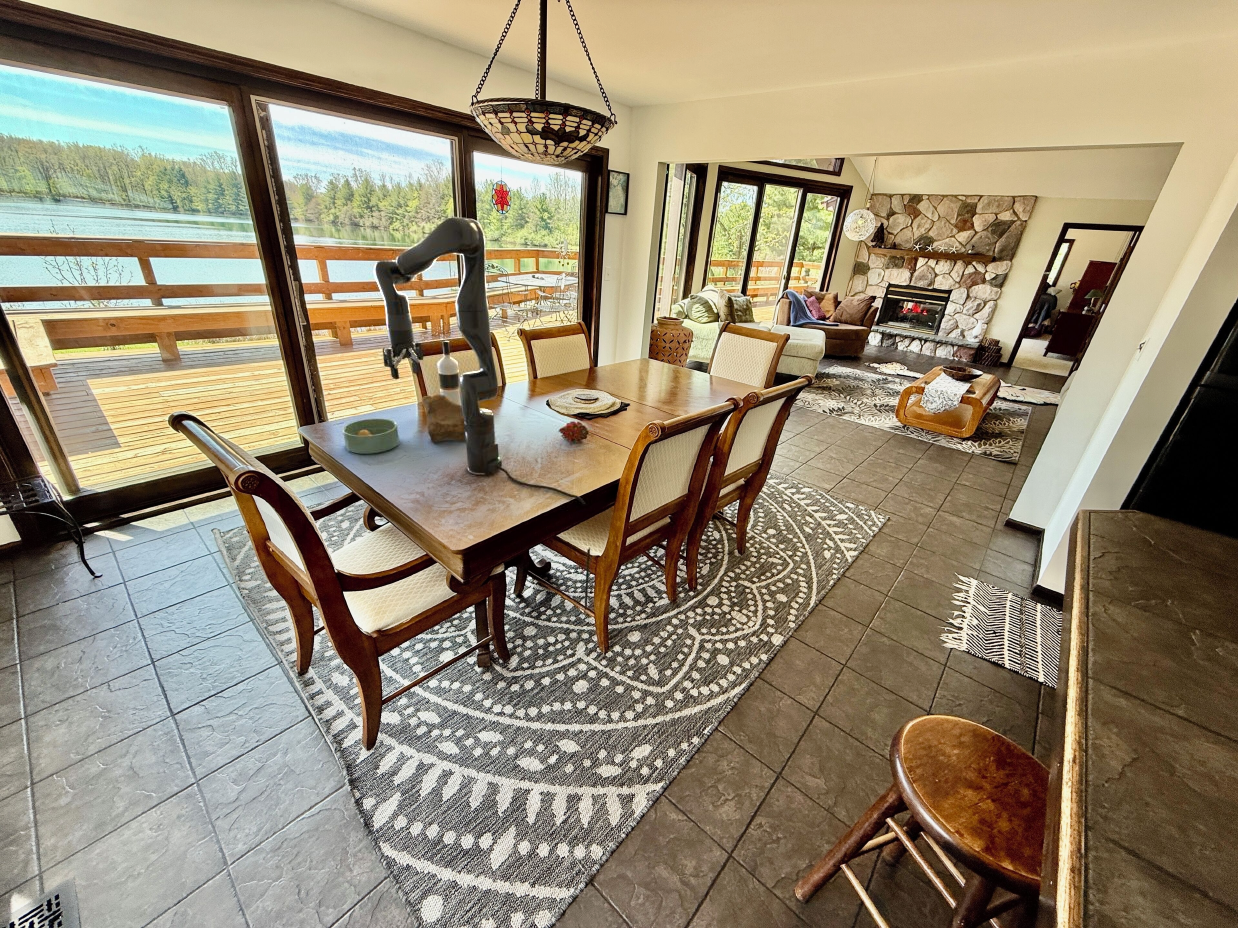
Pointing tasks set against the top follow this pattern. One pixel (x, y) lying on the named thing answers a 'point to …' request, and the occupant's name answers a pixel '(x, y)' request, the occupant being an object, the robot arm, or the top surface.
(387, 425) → the green pet bowl
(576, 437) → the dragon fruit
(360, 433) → the drumstick
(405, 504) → the top surface
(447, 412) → the rough brown rock
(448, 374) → the vodka
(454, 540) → the top surface
